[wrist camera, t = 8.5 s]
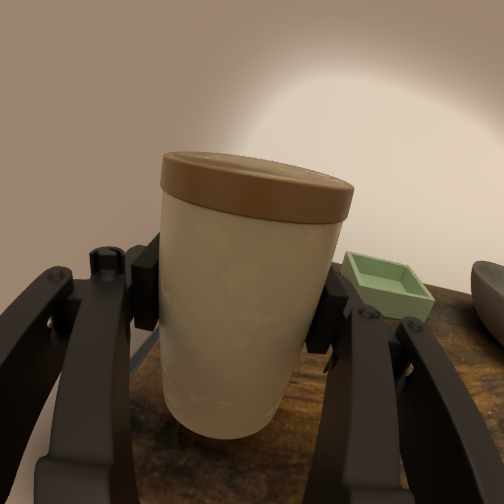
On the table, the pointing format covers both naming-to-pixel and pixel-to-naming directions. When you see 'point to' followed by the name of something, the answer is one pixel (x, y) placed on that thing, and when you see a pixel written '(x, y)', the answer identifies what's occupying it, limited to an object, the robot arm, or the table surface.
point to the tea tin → (239, 283)
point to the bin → (387, 286)
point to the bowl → (489, 296)
